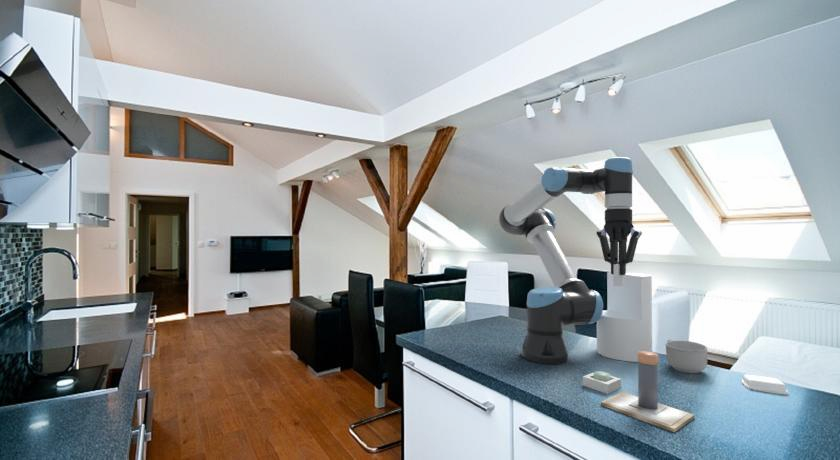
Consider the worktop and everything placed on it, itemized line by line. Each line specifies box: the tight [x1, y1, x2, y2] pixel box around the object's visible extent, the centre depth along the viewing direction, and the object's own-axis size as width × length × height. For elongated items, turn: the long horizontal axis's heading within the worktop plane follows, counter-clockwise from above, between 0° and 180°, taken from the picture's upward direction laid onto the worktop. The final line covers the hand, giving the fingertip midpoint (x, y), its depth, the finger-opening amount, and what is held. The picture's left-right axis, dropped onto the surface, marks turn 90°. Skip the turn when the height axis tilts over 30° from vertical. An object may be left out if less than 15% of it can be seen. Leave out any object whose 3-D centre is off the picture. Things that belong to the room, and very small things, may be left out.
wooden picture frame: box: [600, 391, 695, 433], centre depth 91 cm, size 16×11×1 cm
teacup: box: [664, 338, 708, 374], centre depth 121 cm, size 14×11×8 cm
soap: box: [740, 374, 789, 395], centre depth 106 cm, size 9×7×3 cm
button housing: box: [582, 371, 622, 395], centre depth 105 cm, size 7×7×2 cm
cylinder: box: [596, 271, 653, 363], centre depth 135 cm, size 17×17×28 cm
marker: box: [637, 351, 659, 409], centre depth 91 cm, size 4×4×12 cm
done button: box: [594, 370, 611, 382], centre depth 105 cm, size 4×4×3 cm
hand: (618, 285), depth 117 cm, fingers closed
